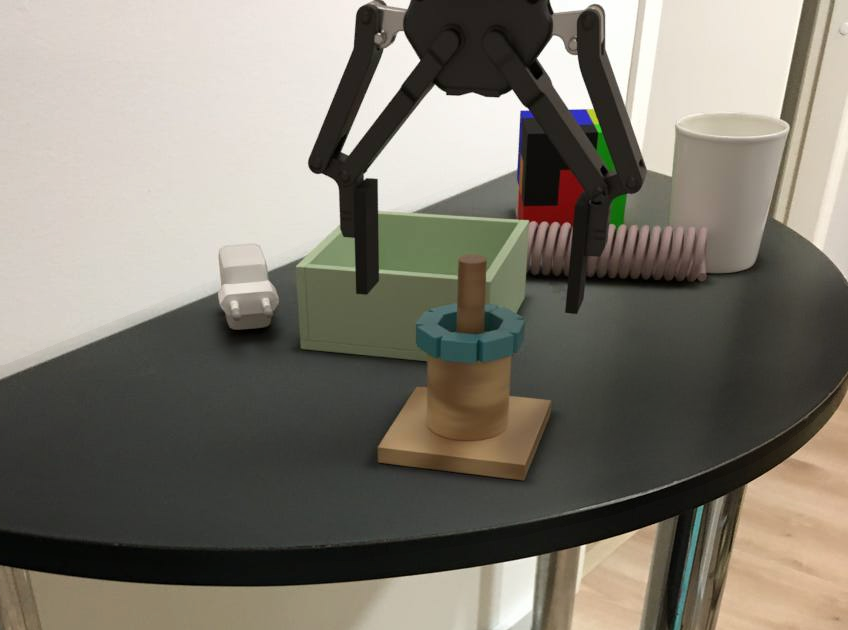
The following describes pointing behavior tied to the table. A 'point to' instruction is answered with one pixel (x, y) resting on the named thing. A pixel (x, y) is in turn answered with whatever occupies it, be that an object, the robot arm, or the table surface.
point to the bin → (404, 280)
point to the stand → (467, 405)
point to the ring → (470, 335)
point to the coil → (623, 252)
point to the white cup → (726, 182)
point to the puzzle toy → (555, 173)
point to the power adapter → (246, 287)
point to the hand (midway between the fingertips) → (468, 297)
